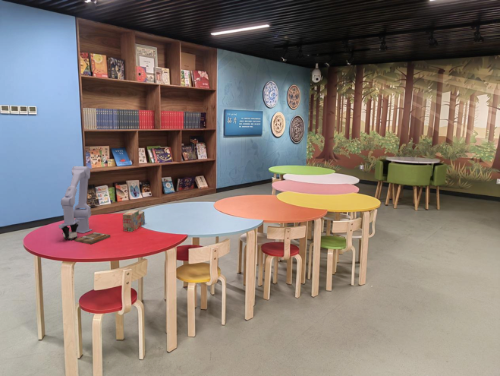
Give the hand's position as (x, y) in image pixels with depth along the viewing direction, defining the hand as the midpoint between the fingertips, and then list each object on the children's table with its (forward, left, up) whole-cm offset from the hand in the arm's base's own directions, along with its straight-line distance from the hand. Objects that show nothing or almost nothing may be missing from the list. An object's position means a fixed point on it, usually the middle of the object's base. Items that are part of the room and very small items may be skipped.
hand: (70, 236), depth 241 cm
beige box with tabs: (0, 0, -2) cm, 2 cm away
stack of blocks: (+18, +39, -2) cm, 43 cm away
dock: (+13, +6, -2) cm, 14 cm away
